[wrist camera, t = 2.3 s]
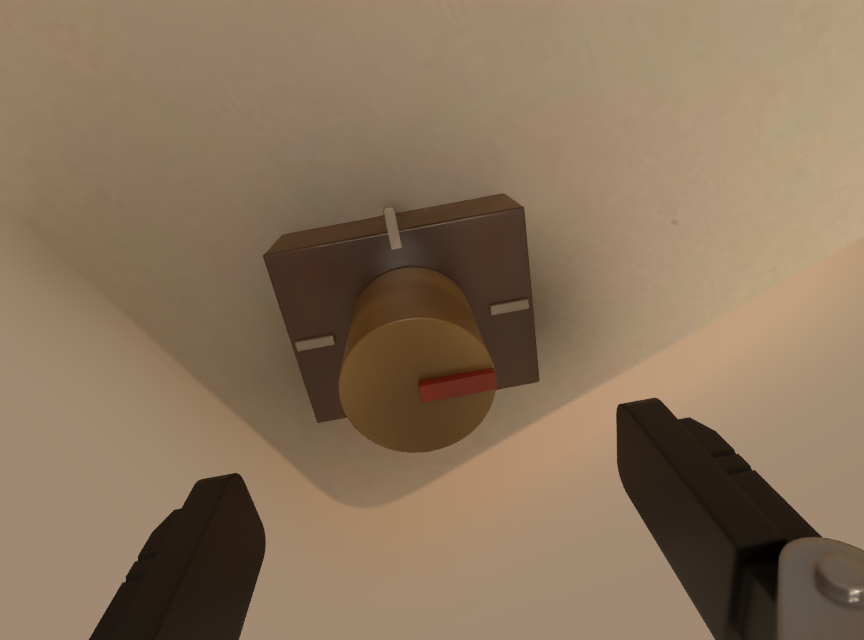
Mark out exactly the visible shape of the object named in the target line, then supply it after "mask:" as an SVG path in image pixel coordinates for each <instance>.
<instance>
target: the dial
mask: <svg viewBox="0 0 864 640" xmlns="http://www.w3.org/2000/svg"><path fill="white" fill-rule="evenodd" d="M496 389H497V383H496V375H495V370H494V365H493V363H492V360H491V357H490V355H489V352H488V350H487V347H486V345H485V342H484V340H483V337H482V335H481V332H480V330H479V327H478V325H477V322H476V320H475V317H474V315H473V312H472V310H471V307H470V305H469V302H468V300H467V298H466V296H465V295H464V293H463V292H462V290H461V289H460V288H459V287H458V286H457V285H456V284H455V283H454V282H453V281H452V280H451V279H449V278H448V277H446V276H444V275H443V274H441V273H438V272H436V271H434V270H430V269H426V268H419V267H407V268H400V269H396V270H392V271H390V272H387V273H385V274H383V275H381V276H379V277H377V278H376V279H375V280H373V281H372V282H371V283H370V284H369V285H368V286H367V287H366V288H365V289H364V290H363V291H362V293H361V294H360V296H359V298H358V299H357V301H356V304H355V306H354V309H353V313H352V318H351V323H350V328H349V332H348V337H347V342H346V347H345V352H344V356H343V361H342V366H341V371H340V376H339V396H340V401H341V405H342V407H343V410H344V412H345V414H346V416H347V417H348V419H349V421H350V422H351V423H352V425H353V426H354V427H355V428H356V429H357V430H358V431H359V432H360V433H361V434H362V435H364V436H365V437H366V438H367V439H369V440H371V441H372V442H374V443H376V444H378V445H380V446H383V447H385V448H389V449H392V450H396V451H401V452H412V453H414V452H428V451H434V450H438V449H441V448H444V447H447V446H450V445H452V444H454V443H456V442H458V441H460V440H461V439H463V438H464V437H466V436H467V435H468V434H470V433H471V432H472V431H473V430H474V429H475V428H476V427H477V426H478V425H479V424H480V423H481V422H482V420H483V419H484V418H485V416H486V414H487V413H488V411H489V409H490V407H491V404H492V402H493V398H494V394H495V390H496Z"/></svg>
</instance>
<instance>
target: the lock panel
mask: <svg viewBox="0 0 864 640" xmlns="http://www.w3.org/2000/svg"><path fill="white" fill-rule="evenodd" d="M383 211H384V216H381V217H376V218H371V219H365V220H360V221H354V222H349V223H344V224H338V225H333V226H327V227H322V228H317V229H311V230H306V231H301V232H295V233H290V234H284V235H282V236H281V237H280V238H279V239H278V240H277V241H276V242H275V243H274V244H273V245H272V246H271V248H270V249H269V250H268V251H267V252H266V253H265V254H264V255H263V258H264V261H265V264H266V267H267V270H268V273H269V276H270V279H271V282H272V285H273V288H274V291H275V294H276V297H277V301H278V304H279V307H280V310H281V313H282V316H283V319H284V322H285V325H286V328H287V331H288V334H289V337H290V340H291V344H292V347H293V350H294V353H295V356H296V359H297V362H298V365H299V368H300V371H301V374H302V377H303V380H304V383H305V387H306V390H307V393H308V396H309V399H310V402H311V405H312V408H313V411H314V414H315V417H316V420H317V422H318V423H320V422H325V421H331V420H336V419H341V418H347V416H346V414H345V412H344V410H343V407H342V405H341V401H340V396H339V376H340V371H341V366H342V361H343V356H344V352H345V347H346V342H347V337H348V332H349V328H350V323H351V318H352V313H353V309H354V306H355V304H356V301H357V299H358V298H359V296H360V294H361V293H362V291H363V290H364V289H365V288H366V287H367V286H368V285H369V284H370V283H371V282H372V281H373V280H375V279H376V278H377V277H379V276H381V275H383V274H385V273H387V272H390V271H392V270H396V269H400V268H407V267H419V268H426V269H430V270H434V271H436V272H438V273H441V274H443V275H444V276H446V277H448V278H449V279H451V280H452V281H453V282H454V283H455V284H456V285H457V286H458V287H459V288H460V289H461V290H462V292H463V293H464V295H465V296H466V298H467V300H468V302H469V305H470V307H471V310H472V312H473V315H474V317H475V320H476V322H477V325H478V327H479V330H480V332H481V335H482V337H483V340H484V342H485V345H486V347H487V350H488V352H489V355H490V357H491V360H492V363H493V365H494V370H495V375H496V383H497V389H503V388H508V387H513V386H519V385H524V384H529V383H535V382H539V370H538V359H537V347H536V336H535V325H534V314H533V302H532V291H531V280H530V269H529V257H528V246H527V235H526V224H525V212H524V207H523V206H521V205H520V204H519V203H517V202H516V201H514V200H513V199H511V198H510V197H509V196H507V195H506V194H500V195H494V196H489V197H484V198H478V199H473V200H468V201H462V202H457V203H451V204H446V205H441V206H435V207H430V208H424V209H419V210H414V211H408V212H403V213H398V214H395V210H394V206H393V207H387V208H383ZM497 389H496V390H497Z"/></svg>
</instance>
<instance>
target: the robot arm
mask: <svg viewBox="0 0 864 640" xmlns="http://www.w3.org/2000/svg"><path fill="white" fill-rule="evenodd" d="M616 416H617V417H616V418H617V464H618V471H619V475H620V478H621V481H622V484H623V486H624V488H625V491H626V492H627V494H628V496H629V498H630V499H631V501H632V503H633V504H634V506H635V508H636V509H637V511H638V513H639V514H640V516H641V518H642V519H643V521H644V523H645V524H646V526H647V527H648V529H649V531H650V532H651V534H652V536H653V537H654V539H655V540H656V542H657V544H658V546H659V547H660V549H661V551H662V552H663V554H664V556H665V557H666V559H667V560H668V562H669V564H670V565H671V567H672V569H673V570H674V572H675V574H676V575H677V577H678V579H679V580H680V582H681V584H682V585H683V587H684V589H685V590H686V592H687V594H688V595H689V597H690V599H691V600H692V602H693V603H694V605H695V607H696V608H697V610H698V612H699V613H700V615H701V617H702V618H703V620H704V622H705V623H706V625H707V627H708V628H709V630H710V632H711V633H712V635H713V637H714V638H715V640H864V550H862V549H860V548H857V547H855V546H853V545H850V544H847V543H844V542H841V541H838V540H833V539H829V538H823V537H821V536H820V535H819V534H818V533H817V532H816V531H815V530H814V529H813V528H812V527H811V526H810V525H809V524H808V523H807V522H806V521H805V520H804V519H803V518H802V517H801V516H800V515H799V514H798V513H797V512H796V511H795V510H794V509H793V508H792V507H791V506H790V505H789V504H788V503H787V502H786V501H785V500H784V499H783V498H782V497H781V496H780V495H779V494H778V493H777V492H776V491H775V490H774V489H773V488H772V487H771V486H770V485H769V484H768V483H767V482H766V481H765V480H764V479H763V478H762V477H761V476H760V475H759V474H758V473H757V472H756V471H755V470H753V471H752V469H751V467H750V465H749V464H748V463H747V462H746V461H745V460H744V459H743V458H742V457H741V456H740V455H739V454H736V453H735V451H734V449H733V448H732V447H731V446H730V445H729V444H728V443H727V442H726V441H725V440H724V439H723V438H722V437H721V436H720V435H719V434H718V433H717V432H716V431H714V430H712V429H710V428H708V427H707V426H705V425H703V424H701V423H699V422H697V421H695V420H693V419H691V418H690V417H689V418H684V419H677V418H676V417H675V416H674V415H673V413H672V412H671V411H670V410H669V409H668V408H667V407H666V406H665V405H664V404H663V403H662V402H661V401H660V400H659V399H657V398H651V399H645V400H640V401H635V402H629V403H624V404H619V405H618V407H617V415H616ZM265 543H266V542H265V532H264V528H263V524H262V522H261V519H260V517H259V515H258V513H257V510H256V508H255V506H254V503H253V501H252V499H251V496H250V494H249V492H248V490H247V487H246V485H245V482H244V480H243V478H242V477H241V476H240V475H239V474H237V473H233V474H228V475H223V476H217V477H212V478H206V479H202V480H199V481H197V482H196V484H195V485H194V487H193V489H192V490H191V492H190V494H189V496H188V498H187V500H186V501H185V503H184V505H183V507H182V508H181V509H177V510H174V511H173V512H172V513H171V514H170V515H169V516H168V517H167V518H166V519H165V520H164V521H163V522H162V523H161V524H160V525H159V526H158V527H157V528H156V529H155V530H154V531H153V532H152V534H151V535H150V537H149V539H148V540H147V542H146V544H145V545H144V547H143V549H142V550H141V552H140V554H139V556H138V561H136V562H134V564H133V566H132V567H131V569H130V571H129V573H128V575H127V576H126V582H124V583H122V585H121V586H120V588H119V589H118V591H117V593H116V595H115V596H114V598H113V600H112V601H111V603H110V605H109V606H108V608H107V610H106V611H105V613H104V615H103V617H102V618H101V620H100V622H99V623H98V625H97V627H96V628H95V630H94V632H93V634H92V635H91V637H90V639H89V640H239V637H240V634H241V630H242V627H243V624H244V621H245V617H246V614H247V611H248V607H249V604H250V601H251V598H252V595H253V591H254V588H255V584H256V581H257V578H258V574H259V572H260V568H261V565H262V562H263V558H264V554H265Z"/></svg>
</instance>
